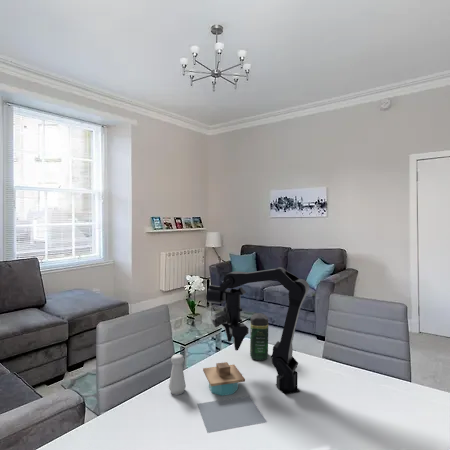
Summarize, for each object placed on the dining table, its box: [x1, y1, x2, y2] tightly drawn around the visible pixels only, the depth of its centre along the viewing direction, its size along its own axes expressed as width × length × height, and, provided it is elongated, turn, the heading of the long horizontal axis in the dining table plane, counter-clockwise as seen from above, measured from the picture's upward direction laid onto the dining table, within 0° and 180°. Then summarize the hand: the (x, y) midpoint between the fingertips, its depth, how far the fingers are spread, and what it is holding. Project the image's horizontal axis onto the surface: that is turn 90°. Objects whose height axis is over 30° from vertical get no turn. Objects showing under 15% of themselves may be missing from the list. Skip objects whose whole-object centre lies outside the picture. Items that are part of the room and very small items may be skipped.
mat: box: [196, 395, 268, 434], centre depth 101 cm, size 18×15×1 cm
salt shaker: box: [168, 353, 187, 396], centre depth 113 cm, size 6×6×13 cm
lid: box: [202, 361, 246, 386], centre depth 115 cm, size 12×12×4 cm
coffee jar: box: [249, 312, 269, 361], centre depth 144 cm, size 10×8×19 cm
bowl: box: [208, 382, 239, 397], centre depth 116 cm, size 10×10×5 cm
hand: (232, 345), depth 125 cm, fingers open, 9 cm apart
